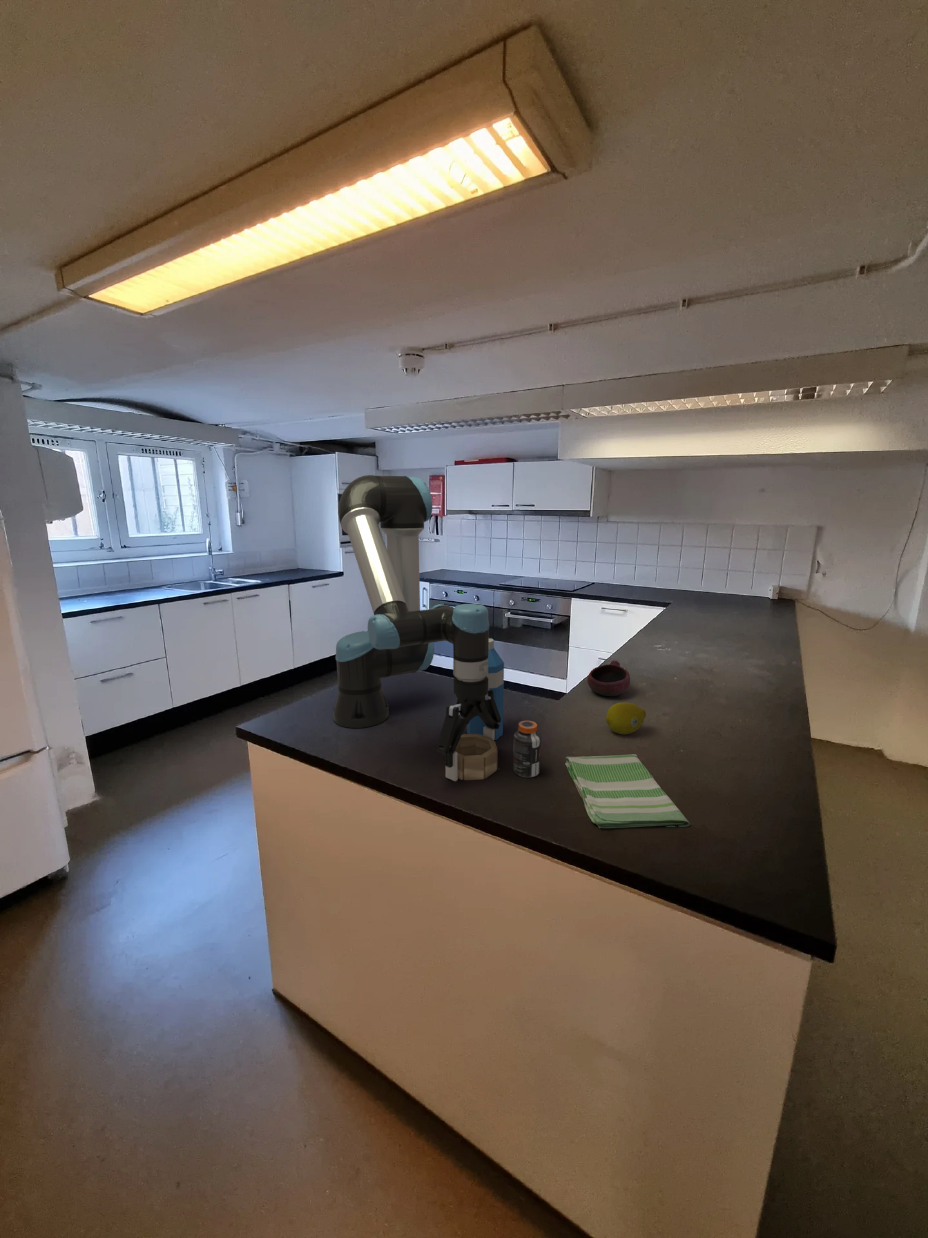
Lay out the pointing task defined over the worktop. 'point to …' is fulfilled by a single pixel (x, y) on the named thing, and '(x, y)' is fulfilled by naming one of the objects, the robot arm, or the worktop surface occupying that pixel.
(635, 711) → the lemon
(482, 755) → the ring
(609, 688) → the bowl
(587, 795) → the dish towel
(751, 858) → the worktop surface
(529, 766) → the pill bottle
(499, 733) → the water bottle
